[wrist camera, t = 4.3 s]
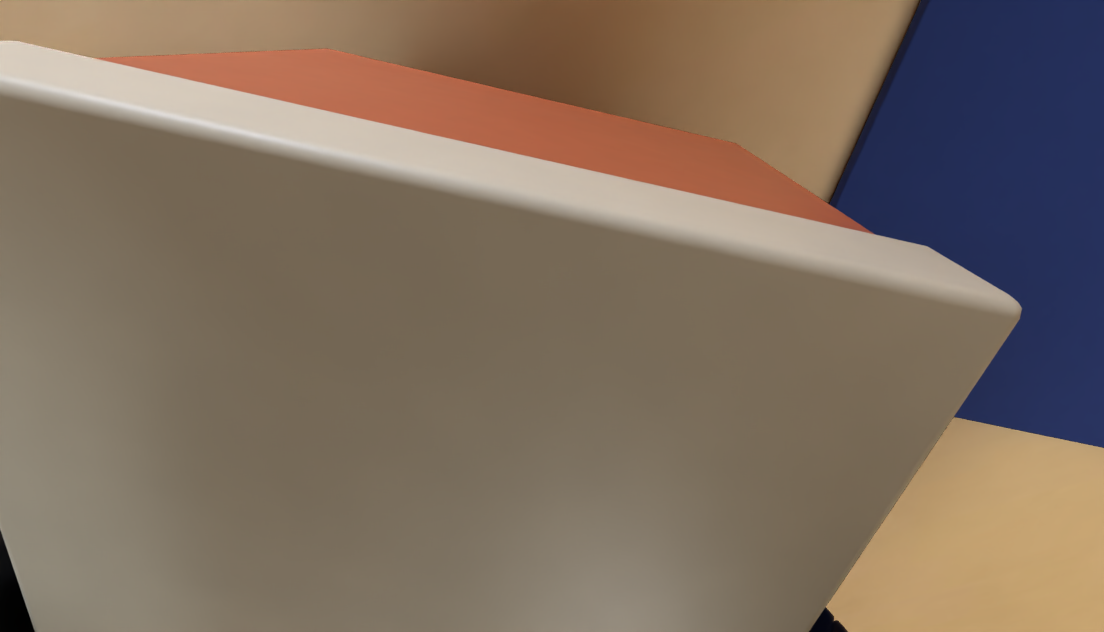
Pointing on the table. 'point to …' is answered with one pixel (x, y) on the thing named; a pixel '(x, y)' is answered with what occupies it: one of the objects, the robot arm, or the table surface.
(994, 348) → the box
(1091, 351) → the blue cloth
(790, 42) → the table surface
